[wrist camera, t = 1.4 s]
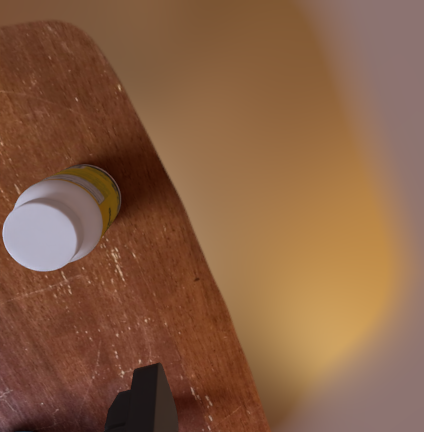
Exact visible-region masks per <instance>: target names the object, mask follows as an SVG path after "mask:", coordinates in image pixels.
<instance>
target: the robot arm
mask: <svg viewBox="0 0 424 432" xmlns="http://www.w3.org/2000/svg"><path fill="white" fill-rule="evenodd" d="M104 432H178V417H177V410H176V406H175V402H174V399H173V396H172V393H171V390H170V387H169V384H168V381H167V378H166V375H165V372H164V369H163V367H162V364H161V363H156V364H152V365H148V366H144V367H140V368H137V369H135V370H134V373H133V379H132V385H131V390H127V391H123V392H119V394H118V395H117V397H116V398H115V400H114V402H113V403H112V405H111V406H110V408H109V410H108V414H107V419H106V423H105V431H104Z"/></svg>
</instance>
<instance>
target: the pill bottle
mask: <svg viewBox="0 0 424 432" xmlns="http://www.w3.org/2000/svg"><path fill="white" fill-rule="evenodd" d="M120 206H121V194H120V190H119V187H118V185H117V183H116V182H115V180H114V179H113V178H112V177H111V175H109V174H108V173H107V172H106V171H104V170H103V169H101V168H99V167H96V166H93V165H87V164H82V165H75V166H72V167H69V168H67V169H65V170H63V171H60V172H58V173H56V174H54V175H52V176H50V177H48V178H46V179H44V180H42V181H40V182H38V183H36V184H34V185H32V186H31V187H29V188H28V189H27V190H25V191H24V192H23V193H22V194H21V196H20V197H19V199H18V200H17V202H16V204H15V207H14V210H13V211H12V212H11V213H10V214H9V215H8V217H7V218H6V220H5V223H4V226H3V241H4V244H5V247H6V249H7V250H8V252H9V254H10V255H11V256H12V257H13V258H14V259H15V260H16V261H17V262H18V263H20V264H21V265H23V266H25V267H27V268H29V269H32V270H37V271H52V270H56V269H59V268H61V267H63V266H65V265H66V264H67V263H69V262H73V261H76V260H78V259H81V258H82V257H84V256H86V255H87V254H88V253H90V252H91V251H92V250H93V249H94V248H95V247H96V245H97V244H98V242H99V241H100V239H101V238H102V236H103V235H104V234H105V232H106V231H107V229H108V228H109V226H110V225H111V223H112V222H113V221H114V219H115V218H116V216H117V214H118V212H119V210H120Z"/></svg>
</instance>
